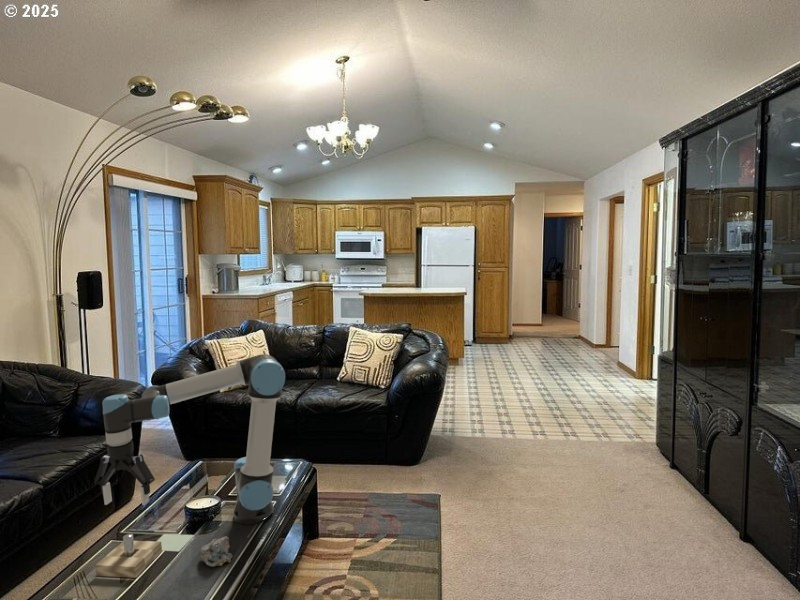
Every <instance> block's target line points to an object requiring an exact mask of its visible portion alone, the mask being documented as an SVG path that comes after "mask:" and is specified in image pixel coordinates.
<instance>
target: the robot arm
mask: <svg viewBox="0 0 800 600" xmlns="http://www.w3.org/2000/svg"><path fill="white" fill-rule="evenodd" d="M285 382H286V372H285V369H284V367H283V366H282V365H281V363H280V362H278V360H277V359H276V358H275V357H274V356H272V355H270V354H265V353H263V354H258V355H253V356H251V357H248V358H245V359H241V360H238V361H237V362H236V364H233V365H229V366H225V367H223V368H219V369H216V370H212V371H208V372H204V373H202V374H198V375H194V376H190V377H188V378H183V379H180V380H177V381H172V382H168V383H165V384H162V385H150V386H148V387H147V388H146V389H145V390H143V392H142V394H141V396H140V397H141V398H137V399H130V398H129V397H128V395H127V394H125V393H122V394H114V395H110V396H107V397H105V398H104V399H103V400H102V416H103V423H104V431H105V443H106V444H107V446H106V449H107V454H105V455H103V456H101V457H100V459H99V460H100V461H99V467H98V470H97V472H96V475H95V478H94V481H93V483H94V484H95V485H96V484H97V485H99V486H100V493H101V495H102V496H103V502H104V505H105V506H107V505H109V504H110V503H111V502H113V497H112V487H111V483H110V482H109V480H110V478H111V477H112V476H113V474H114V472H116V471H121V470H122V471H127V472H128V473H130V474H131V475H132V476H133V477H134V478H135V479H136V480H137V481H138V482H139V483H140V484H141V485H140V487H139V488H140V497H141V504H142V505H141V506H146V505H147V504H149V503H150V492H151V484H152V483H153V482H154V481H156V478H155V476H154V475H153V474H152V472H151V470H150V468H149V466H148V465H147V464H146V462H145V458H144V455H143V454H139V455H136V456H135V455H134V441H133V431H132V423H133V424H134V423H137V422H138V423H139V422H145V421H150V420H151V421H152V420H159V419H162V418H167V417H169V416H170V405H172V404H177V403H181V402H182V401H187V400H190V399H194V398H198V397H200V396H204V395H207V394H211V393H214V392H215V393H216V392H218V391H220V390H225V389H228V388H231V387H234V386H238V385H242V386H248V394H247V397H249V398H250V400H251V404H250V405H251V406H250V416H249V425H248V435H247V446H246V456H244V457H240V458H238V459H236V460H235V462H234V467H233V468H234V469H233V470H234V477H235V488H236V502H235V505H234V506H235V507H234V509H233V520H234V522H236V523H238V524H240V525H255V524H259V523H261V522H260V521H262V520H263V519H264V518H266V517H267V516H269V515H270V514H271V513H272V512H273V510H274V511H275V508H274V504H273V501H272V499H273V497H274V487H273V476H274V467H273V466H272V465H271V456H272V446H273V444H272V443H273V434H274V426H275V417H276V416H275V415H276V414H275V413H276V406H277V401H278V400H279V399H280V398H281V397H282V392H283V391H282V389H283V387H284V385H285ZM109 463H110V464H111V465H110V466H109V468H108V465H109ZM107 468H108V470H107ZM273 513H274V512H273ZM258 522H259V523H258ZM262 522H263V521H262Z"/></svg>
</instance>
